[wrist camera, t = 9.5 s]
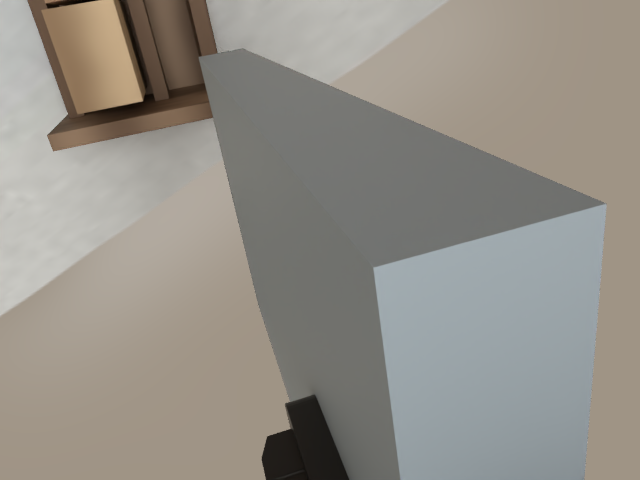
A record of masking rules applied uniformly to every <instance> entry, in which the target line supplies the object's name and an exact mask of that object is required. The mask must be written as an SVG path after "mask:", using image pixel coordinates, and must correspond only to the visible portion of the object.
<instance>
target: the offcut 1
mask: <svg viewBox="0 0 640 480" xmlns="http://www.w3.org/2000/svg"><path fill="white" fill-rule="evenodd" d="M44 1H45V3H47V4H55V5H63V6H68V5H74V4H80V3H86V2H92V1H98V0H44Z"/></svg>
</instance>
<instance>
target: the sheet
mask: <svg viewBox="0 0 640 480" xmlns="http://www.w3.org/2000/svg"><path fill="white" fill-rule="evenodd" d="M199 61H200V65H201V69H202V74H203V78H204V82H205V86H206V90H207V94H208V98H209V103H210V107H211V111H212V115H213V119H214V123H215V127H216V132H217V136H218V140H219V144H220V148H221V152H222V156H223V161H224V165H225V169H226V173H227V177H228V181H229V185H230V189H231V194H232V198H233V202H234V206H235V210H236V214H237V218H238V223H239V227H240V231H241V235H242V239H243V243H244V247H245V251H246V256H247V260H248V264H249V268H250V272H251V276H252V280H253V285H254V288H255V293H256V297H257V301H258V305H259V308H260V311H261V314H262V317H263V320H264V323H265V327H266V329H267V332H268V336H269V339H270V342H271V345H272V348H273V351H274V354H275V357H276V360H277V363H278V366H279V369H280V372H281V375H282V378H283V381H284V385H285V387H286V390H287V394H288V397H289V400H290V402H292V401H295V400H298V399H301V398H304V397H307V396H311V395H314V394H315V396H316V398H317V400H318V402H319V405H320V407H321V410H322V412H323V415H324V417H325V420H326V422H327V425H328V427H329V430H330V432H331V435H332V437H333V440H334V442H335V445H336V447H337V450H338V452H339V455H340V457H341V460H342V462H343V465H344V467H345V470H346V472H347V475H348V477H349V480H584V475H585V464H586V463H585V462H586V451H587V439H588V427H589V414H590V401H591V390H592V377H593V365H594V353H595V340H596V328H597V316H598V303H599V291H600V278H601V266H602V253H603V241H604V229H605V217H606V203H604V202H601V201H599V200H597V199H594V198H592V197H590V196H587V195H585V194H583V193H580V192H578V191H576V190H573V189H571V188H569V187H566V186H564V185H562V184H559V183H557V182H555V181H552V180H550V179H548V178H545V177H543V176H540V175H538V174H536V173H533V172H531V171H529V170H526V169H524V168H522V167H519V166H517V165H514V164H512V163H510V162H507V161H505V160H503V159H501V158H498V157H496V156H494V155H491V154H489V153H486V152H484V151H482V150H479V149H477V148H475V147H472V146H470V145H468V144H465V143H463V142H461V141H458V140H456V139H454V138H451V137H449V136H447V135H444V134H442V133H439V132H437V131H435V130H433V129H430V128H428V127H425V126H423V125H421V124H418V123H416V122H414V121H411V120H409V119H407V118H404V117H402V116H400V115H397V114H395V113H392V112H390V111H388V110H386V109H383V108H381V107H378V106H376V105H374V104H372V103H369V102H367V101H364V100H362V99H360V98H357V97H355V96H353V95H350V94H348V93H346V92H343V91H341V90H339V89H336V88H334V87H332V86H329V85H327V84H325V83H322V82H320V81H318V80H315V79H313V78H310V77H308V76H306V75H303V74H301V73H299V72H296V71H294V70H292V69H289V68H287V67H285V66H282V65H280V64H278V63H275V62H273V61H271V60H268V59H266V58H264V57H261V56H259V55H257V54H254V53H252V52H249V51H247V50H245V49H238V50H233V51H228V52H222V53H217V54H212V55H206V56H201V57H199Z"/></svg>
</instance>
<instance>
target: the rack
mask: <svg viewBox="0 0 640 480" xmlns="http://www.w3.org/2000/svg"><path fill="white" fill-rule="evenodd" d="M119 1H121V2H124V5H125V8H126V11H127V15H128V18H129V22H130V25H131V29H132V32H133V36H134V39H135V43H136V46H137V50H138V53H139V57H140V60H141V64H142V67H143V70H144V74H145V77H146V81H147V87H146V91H145V95H144V99H143V101H142V102H137V103H132V104H127V105H122V106H117V107H112V108H107V109H102V110H97V111H92V112H87V113H82V114H77V111H76V108H75V105H74V102H73V100H72V97H71V94H70V91H69V88H68V85H67V82H66V80H65V77H64V74H63V71H62V68H61V65H60V62H59V60H58V57H57V54H56V51H55V48H54V45H53V42H52V40H51V37H50V34H49V31H48V28H47V25H46V23H45V20H44V17H43V14H42V11H41V10H44V9H50V8H56V7H62V6H63V5H55V4H47V3H45V1H44V0H28V3H29V6H30V9H31V11H32V14H33V17H34V20H35V23H36V25H37V28H38V31H39V34H40V37H41V39H42V42H43V45H44V48H45V51H46V53H47V56H48V59H49V62H50V65H51V67H52V70H53V73H54V76H55V79H56V81H57V84H58V87H59V90H60V92H61V95H62V98H63V101H64V104H65V106H66V109H67V112H68V115H67V116H66V117H65V118H64V119H63V120H62V121H61V122H60V123H59V124H58V125H57V126H56V127H55V128H54V129H53V130H52V131H51V132H50V133H49V134H48V135H47V136H48V139H49V141H50V144H51V147H52V149H53V151H57V150H62V149H67V148H71V147H76V146H81V145H86V144H90V143H95V142H100V141H105V140H109V139H114V138H119V137H123V136H128V135H133V134H138V133H142V132H147V131H152V130H157V129H161V128H166V127H171V126H175V125H180V124H185V123H190V122H194V121H199V120H204V119H209V118H213V115H212V111H211V107H210V103H209V98H208V94H207V90H206V86H205V82H204V78H203V74H202V69H201V65H200V61H199V57H201V56H206V55H212V54H217V48H216V44H215V40H214V35H213V31H212V27H211V22H210V18H209V13H208V9H207V5H206V0H119Z"/></svg>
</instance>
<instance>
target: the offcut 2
mask: <svg viewBox="0 0 640 480" xmlns="http://www.w3.org/2000/svg"><path fill="white" fill-rule="evenodd" d="M41 11H42V14H43V17H44V20H45V23H46V25H47V28H48V31H49V34H50V37H51V40H52V42H53V45H54V48H55V51H56V54H57V57H58V60H59V62H60V65H61V68H62V71H63V74H64V77H65V80H66V82H67V85H68V88H69V91H70V94H71V97H72V100H73V102H74V105H75V108H76V111H77V114H82V113H87V112H92V111H97V110H102V109H107V108H112V107H117V106H122V105H127V104H132V103H137V102H142V101H143V99H144V95H145V91H146V87H147V81H146V77H145V74H144V70H143V67H142V64H141V60H140V57H139V53H138V50H137V46H136V43H135V39H134V36H133V32H132V29H131V25H130V22H129V18H128V15H127V11H126V8H125V5H124V2H121V1H119V0H98V1H92V2H86V3H80V4H74V5H68V6H62V7H56V8H50V9H44V10H41Z"/></svg>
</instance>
